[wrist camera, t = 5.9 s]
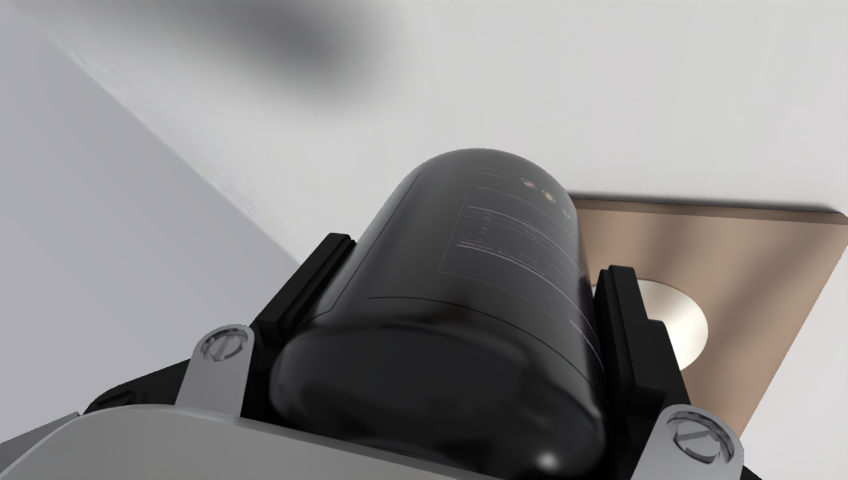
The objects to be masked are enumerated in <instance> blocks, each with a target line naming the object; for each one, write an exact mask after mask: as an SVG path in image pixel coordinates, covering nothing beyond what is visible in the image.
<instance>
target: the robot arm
mask: <svg viewBox="0 0 848 480" xmlns="http://www.w3.org/2000/svg"><path fill="white" fill-rule="evenodd" d="M355 245H356V242H355V240H351V237H350V236H349V235H348V234H339V233H329V234H328V235H327V236H326V238H325V239H324V240H323V241H322V242H321V243H320V244H319V246H318V247H317V248H316V249H315V250H314V251H313V253H312V254H311V255H310V256H309V257H308V258H307V259H306V261H305V262H304V263H303V264H302V265H301V266H300V268H299V269H298V270H297V271H296V272H295V273H294V274H293V276H292V277H291V278H290V279H289V280H288V281H287V282H286V284H285V285H284V286H283V287H282V288H281V290H280V291H279V292H278V293H277V294H276V295H275V296H274V298H273V299H272V300H271V301H270V302H269V303H268V304H267V306H266V307H265V308H264V309H263V310H262V311H261V313H260V314H259V315H258V316H257V317H256V318H255V320H254V321H253V322H252V323H251V324H250V326H249V327H247V326H246V325H241V324H232V325H226V326H222V327H220V328H217V329H215V330H213V331H211V332H210V333H208V334H206V335H205V336H204V337H203V338H202V339H201V340H200V341H199V342H198V343H197V345H196V347H195V349H194V351H193V354H192V357H191V359H188V360H185V361H182V362H180V363H177V364H174V365H172V366H169V367H166V368H164V369H161V370H159V371H156V372H153V373H150V374H148V375H145V376H142V377H140V378H137V379H134V380H132V381H129V382H126V383H124V384H121V385H118V386H116V387H114V388H112V389H110V390H108V391H106V392H105V393H103V394H102V395H100V396H99V397H97V398H96V399H95V400H94V401H93V402H92V403H91V404H90V405H89V406H88V408H87V409H86V410H85V412H84V413H83V415H80V414H79V413H78V412H74V413H72V414H69V415H67V416H65V417H62V418H60V419H58V420H55V421H53V422H50V423H48V424H46V425H43V426H41V427H39V428H36V429H34V430H31V431H29V432H27V433H24V434H22V435H20V436H17V437H15V438H12V439H10V440H8V441H5V442H3V443H1V444H0V480H503V479H499V478H495V477H491V476H487V475H483V474H478V473H474V472H470V471H466V470H462V469H458V468H454V467H450V466H446V465H441V464H437V463H433V462H429V461H425V460H421V459H416V458H412V457H408V456H404V455H400V454H396V453H391V452H387V451H383V450H379V449H375V448H370V447H366V446H362V445H358V444H354V443H349V442H345V441H341V440H337V439H332V438H328V437H324V436H320V435H315V434H311V433H307V432H302V431H298V430H294V429H290V428H285V427H281V426H277V425H272V424H268V423H264V422H262V417H261V413H262V400H263V392H264V387H265V383H266V380H267V376H268V373H269V371H270V369H271V367H272V365H273V362H274V361H275V359H276V357H277V356H278V354H279V352H280V351H281V350H282V348H283V346H284V344H285V343H286V341H287V340H288V339H289V337H290V336H291V334H292V333H293V331H294V330H295V329H296V327H297V326H298V324H299V323H300V322H301V320H302V319H303V317H304V316H305V315H306V313H307V312H308V310H309V309H310V308H311V306H312V305H313V303H314V302H315V301H316V299H317V298H318V296H319V295H320V294H321V292H322V291H323V289H324V288H325V287H326V285H327V284H328V282H329V281H330V280H331V278H332V277H333V275H334V274H335V273H336V271H337V270H338V268H339V267H340V266H341V264H342V263H343V261H344V260H345V259H346V257H347V256H348V254H349V253H350V252H351V250H352V249H353V247H354V246H355ZM594 304H595V310H596V317H597V323H598V329H599V335H600V342H601V348H602V354H603V361H604V367H605V373H606V380H607V386H608V392H609V398H610V405H611V411H612V418H613V424H614V431H615V439H616V450H617V460H618V479H617V480H762V479H761V478H759V477H758V476H757V475H756V474H754V473H753V472H752V471H750V470H749V469H748V468H747V467H745V466H744V465H743V463H744V449H743V447H742V444H741V442H740V439H739V438H738V437H737V435H736V434H735V433H734V431H733V430H732V429H731V428H730V427H729V426H728V425H727V424H726V423H725V422H724V421H722V420H721V419H720V418H718V417H717V416H715V415H713V414H712V413H710V412H708V411H706V410H704V409H701V408H698V407H696V406H692V405H691V402H690V399H689V396H688V393H687V390H686V387H685V383H684V380H683V377H682V374H681V371H680V368H679V365H678V362H677V359H676V356H675V353H674V350H673V346H672V343H671V340H670V337H669V334H668V331H667V328H666V326H665V324H664V322H663V321H661V320H654V319H648V317H647V313H646V310H645V306H644V302H643V299H642V295H641V292H640V288H639V284H638V281H637V277H636V274H635V270H634V268H633V267H628V266H619V265H609V267H608V270H607V269H601V270H600V273H599V277H598V281H597V285H596V290H595V294H594Z"/></svg>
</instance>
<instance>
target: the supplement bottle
mask: <svg viewBox="0 0 848 480" xmlns="http://www.w3.org/2000/svg"><path fill="white" fill-rule="evenodd" d="M261 417H262V422H264V423H268V424H272V425H277V426H281V427H285V428H290V429H294V430H298V431H302V432H307V433H311V434H315V435H320V436H324V437H328V438H332V439H337V440H341V441H345V442H349V443H354V444H358V445H362V446H366V447H370V448H375V449H379V450H383V451H387V452H391V453H396V454H400V455H404V456H408V457H412V458H416V459H421V460H425V461H429V462H433V463H437V464H441V465H446V466H450V467H454V468H458V469H462V470H466V471H470V472H474V473H478V474H483V475H487V476H491V477H495V478H499V479H503V480H617V479H618V460H617V450H616V439H615V431H614V424H613V418H612V411H611V405H610V398H609V392H608V386H607V380H606V373H605V367H604V361H603V354H602V348H601V342H600V335H599V329H598V323H597V317H596V310H595V304H594V298H593V291H592V285H591V279H590V272H589V266H588V260H587V254H586V247H585V241H584V237H583V232H582V227H581V223H580V219H579V216H578V214H577V211H576V209H575V206H574V204H573V202H572V201H571V199H570V197H569V196H568V194H567V193H566V191H565V190H564V189H563V187H562V186H561V185H560V184H559V183H558V182H557V181H556V180H555V179H554V178H553V177H552V176H551V175H550V174H548V173H547V172H546V171H545V170H543V169H542V168H541V167H539V166H537V165H536V164H534V163H533V162H531V161H529V160H527V159H525V158H522V157H520V156H517V155H515V154H512V153H508V152H504V151H500V150H494V149H485V148H470V149H461V150H456V151H451V152H447V153H444V154H441V155H438V156H436V157H434V158H431V159H429V160H428V161H426V162H424V163H422V164H421V165H419V166H418V167H417V168H415V169H414V170H413V171H412V172H411V173H409V174H408V175H407V176H406V177H405V178H404V179H403V181H402V182H401V183H400V184H399V185H398V186H397V188H396V189H395V190H394V192H393V193H392V194H391V196H390V197H389V198H388V200H387V201H386V203H385V204H384V205H383V207H382V208H381V210H380V211H379V212H378V214H377V215H376V217H375V218H374V219H373V221H372V222H371V224H370V225H369V226H368V228H367V229H366V231H365V232H364V233H363V235H362V236H361V238H360V239H359V240H358V242H357V243H356V245H355V246H354V247H353V249H352V250H351V252H350V253H349V254H348V256H347V257H346V259H345V260H344V261H343V263H342V264H341V266H340V267H339V268H338V270H337V271H336V273H335V274H334V275H333V277H332V278H331V280H330V281H329V282H328V284H327V285H326V287H325V288H324V289H323V291H322V292H321V294H320V295H319V296H318V298H317V299H316V301H315V302H314V303H313V305H312V306H311V308H310V309H309V310H308V312H307V313H306V315H305V316H304V317H303V319H302V320H301V322H300V323H299V324H298V326H297V327H296V329H295V330H294V331H293V333H292V334H291V336H290V337H289V339H288V340H287V341H286V343H285V344H284V346H283V348H282V350H281V351H280V352H279V354H278V356H277V357H276V359H275V361H274V362H273V365H272V367H271V369H270V371H269V373H268V376H267V380H266V383H265V387H264V392H263V400H262V413H261Z"/></svg>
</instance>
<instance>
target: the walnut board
mask: <svg viewBox="0 0 848 480" xmlns="http://www.w3.org/2000/svg"><path fill="white" fill-rule="evenodd" d="M571 201H572V202H573V204H574V206H575V209H576V211H577V214H578V216H579V219H580V223H581V227H582V232H583V237H584V241H585V247H586V254H587V260H588V266H589V272H590V279H591V285H592V291H593V298H594V294H595V290H596V285H597V281H598V277H599V273H600V270H601V269H607V270H608V267H609V265H619V266H628V267H633V268H634V270H635V274H636V277H637V281H638V284H639V288H640V292H641V295H642V299H643V302H644V306H645V310H646V313H647V317H648V319H654V320H661V321H663V322H664V324H665V326H666V328H667V331H668V334H669V337H670V340H671V343H672V346H673V350H674V353H675V356H676V359H677V362H678V365H679V368H680V371H681V374H682V377H683V380H684V383H685V387H686V390H687V393H688V396H689V399H690V402H691V405H692V406H696V407H698V408H701V409H704V410H706V411H708V412H710V413H712V414H713V415H715V416H717V417H718V418H720V419H721V420H722V421H724V422H725V423H726V424H727V425H728V426H729V427H730V428H731V429H732V430H733V431H734V433H735V434H736V435H737V437H738V438H740V436H741V435H742V433H743V431H744V429H745V427H746V426H747V424H748V422H749V420H750V419H751V417H752V415H753V413H754V411H755V410H756V408H757V406H758V404H759V402H760V401H761V399H762V397H763V395H764V393H765V392H766V390H767V388H768V386H769V385H770V383H771V381H772V379H773V377H774V376H775V374H776V372H777V370H778V368H779V367H780V365H781V363H782V361H783V359H784V358H785V356H786V354H787V352H788V351H789V349H790V347H791V345H792V343H793V342H794V340H795V338H796V336H797V334H798V333H799V331H800V329H801V327H802V325H803V324H804V322H805V320H806V318H807V317H808V315H809V313H810V311H811V309H812V308H813V306H814V304H815V302H816V300H817V299H818V297H819V295H820V293H821V291H822V290H823V288H824V286H825V284H826V283H827V281H828V279H829V277H830V275H831V274H832V272H833V270H834V268H835V266H836V265H837V263H838V261H839V259H840V257H841V256H842V254H843V252H844V250H845V248H846V247H847V245H848V217H847V216H845V215H844V214H843V213H827V212H809V211H790V210H772V209H753V208H735V207H716V206H698V205H680V204H661V203H643V202H624V201H606V200H588V199H571Z"/></svg>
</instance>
